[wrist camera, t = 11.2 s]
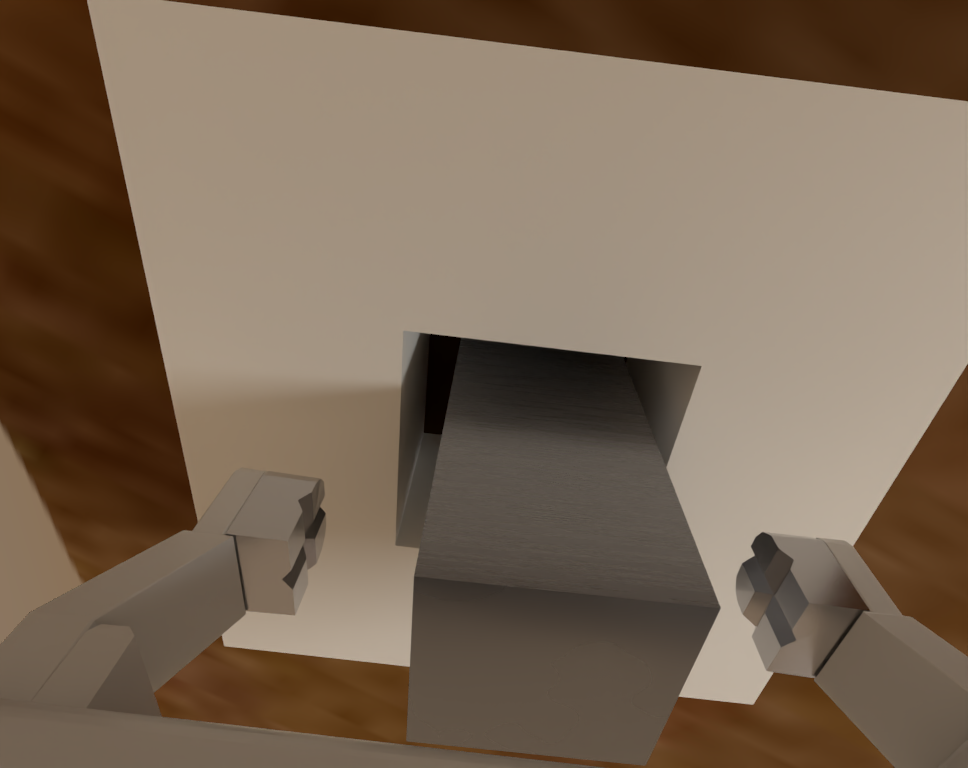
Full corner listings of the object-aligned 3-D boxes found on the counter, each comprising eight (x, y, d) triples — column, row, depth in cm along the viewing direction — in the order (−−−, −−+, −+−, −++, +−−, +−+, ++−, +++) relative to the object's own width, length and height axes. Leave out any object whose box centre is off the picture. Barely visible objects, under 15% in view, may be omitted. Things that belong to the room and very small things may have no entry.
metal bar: (468, 298, 16) (413, 576, 7) (606, 312, 16) (720, 608, 7) (458, 413, 18) (406, 740, 9) (580, 426, 18) (645, 765, 9)
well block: (233, 19, 13) (85, -9, 8) (913, 105, 13) (1120, 120, 8) (285, 524, 20) (223, 646, 16) (703, 572, 21) (753, 704, 16)
